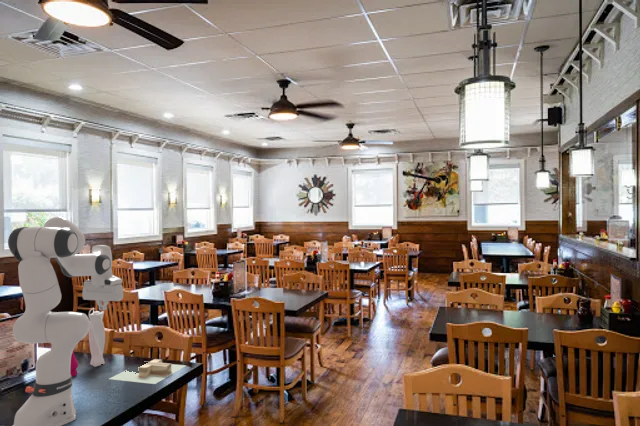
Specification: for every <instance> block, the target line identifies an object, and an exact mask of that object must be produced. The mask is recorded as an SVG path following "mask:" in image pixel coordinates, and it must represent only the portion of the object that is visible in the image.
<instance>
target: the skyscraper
mask: <svg viewBox="0 0 640 426" xmlns="http://www.w3.org/2000/svg"><path fill="white" fill-rule="evenodd" d="M91 311H92V313H91ZM104 315H105V310H101V311H100V310H96V311H95V308H94V307H92V308H90V309H89V311H88V318H89V321H90V329H89V332H88V340H89V341H88V343H89V349H90V350H89V351H90V355H91V359H90V363H89V365H90V366H93V367H94V368H96V367H100V366H102V365H101V364H103V365H106V362H105V359H104V355H103V354H104V349H105V342H106V331H105V326H104V322H103V319H104Z"/></svg>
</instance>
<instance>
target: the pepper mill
mask: <svg viewBox="0 0 640 426" xmlns="http://www.w3.org/2000/svg"><path fill="white" fill-rule="evenodd" d="M75 349H76V347H75V348H74V350H73V352H72V355H71V366H70V375H71V376H72V378H73V377H75V376H77V375H78V370H77V369H78V367H79V362H78V359H77V358H76V356H75Z"/></svg>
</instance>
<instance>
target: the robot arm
mask: <svg viewBox="0 0 640 426" xmlns="http://www.w3.org/2000/svg"><path fill="white" fill-rule="evenodd" d="M7 239H8V240H7V245H8V248H9V251H10V252H11V254H12V255H13V256H14V259H15V260H17V261H19V263H18V266H17V267H18V268H17V269H18V270H17V271H18V273H17V274H18V280H19V285H20V290H21V292H22V296H23V299H24V304H25V311H23V312H24V313H23V314H22V315H20V316H19V317H18V318H17V319H16V321H15V322H14V323H13V326H12V334H13V337H14V339H15V340H16V341H17V342H19V343H25V344H47V343H48V344H51V348H50V350H49V351H46V352H45V353H43V354H42V355H40V356H39V357H38V358H37V360H36V362H35V382H34V385H33V386H26V388H25V390H24V391H25V393H28V394H30V393H31V395H30V396H29V398H27V400H26V401H25V403H23V404H22V406H21V407H20V408H19V409H18V410H17V411H16V413H15V415H14V418H13V419H14V421H13V425H12V426H64V425H67V424H68V423H71V422H73V421H75V420H76V419H77V410H76V407H75V404H74V399H73V393H72V387H73V377H72V376H71V375H70V366H71V355H72V352H73V350H74V351H75V349H76V346H77V345H78V343H79V342H80V341H82V340H83V339H85V338H86V336H87V335H88V334H89V329H90V319H89V316H88V315H87V314H86V313H84V312H79V311H77V312H76V311H58V312H57V311H52V310H53V309H55V308H56V307H57V306H58V305H59V304H60V303H61V300H62V292H61V288H60V285H59V281H58V277H57V274H56V271H55V269H54V267H53V264H52V263H51V258H52V259H53V258H54V260H55V261H56V263H57V264H58V266H59V267H60V270H61V273H62V274H63V275H64V276H66V277H68V278H75V277H88V276H89V277H91V279H86V280H84V282H83V286H82V292H81V293H82V295H81V296H82V300H84V301H86V300H87V301H95V302H96V304H97V306H98V311H106V310H108V305H109V303H110V302H120V301H122V300H123V299H124V287H123V284H122V283H123V279H122V278H121V277H118V276H116V275H114V274H113V270H112V268H113V254H112V250H111V246H109V245H106V244H96V245H93V246H92V248H91V253H84V254H83V253H82V254H81V253H80V252H81V251H82V250H83V249H84V247H85V245H86V237H85V234H84V233H83V232H82V230H81V229H80V228H79V227H78V226H77V225H76V224H74V223H73V222H72V221H70V220H69V219H67V218H65V217H62V216H55V217H54V216H53V217H51V218H49V219H47V221H46V222H45V223H44V225H43V226H30V227H29V226H22V227H18V228H15V229H13V230H12V231H11V233H10V234H9V236H8V238H7ZM79 253H80V254H79ZM74 348H75V349H74Z"/></svg>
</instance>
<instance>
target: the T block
mask: <svg viewBox="0 0 640 426" xmlns="http://www.w3.org/2000/svg"><path fill="white" fill-rule="evenodd" d="M147 362H148V363H146V364H144V365H142V366H140V367H138V371H139V376H142V377H147V376H148V375H150V374H159V375H168V374H169V373H171V372H172V368H171V364H172V363H167V362H163V360H162V359H158V358H154V359H152V360H150V361H147Z"/></svg>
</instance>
